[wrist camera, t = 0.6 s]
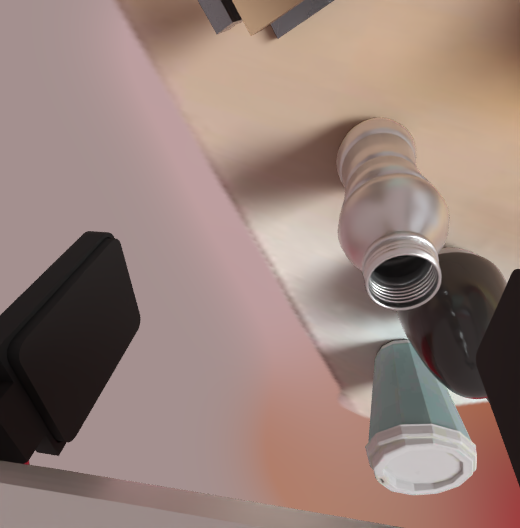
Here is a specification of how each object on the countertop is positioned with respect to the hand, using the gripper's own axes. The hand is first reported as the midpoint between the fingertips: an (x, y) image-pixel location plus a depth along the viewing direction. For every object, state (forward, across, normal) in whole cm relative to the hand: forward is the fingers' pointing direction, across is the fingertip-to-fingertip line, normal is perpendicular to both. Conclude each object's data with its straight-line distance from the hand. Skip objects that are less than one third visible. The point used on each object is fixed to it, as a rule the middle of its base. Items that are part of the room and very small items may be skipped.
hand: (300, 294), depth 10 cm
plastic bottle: (+29, -4, +6) cm, 30 cm away
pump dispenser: (+29, -14, +19) cm, 37 cm away
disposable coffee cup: (+29, -12, +33) cm, 45 cm away
